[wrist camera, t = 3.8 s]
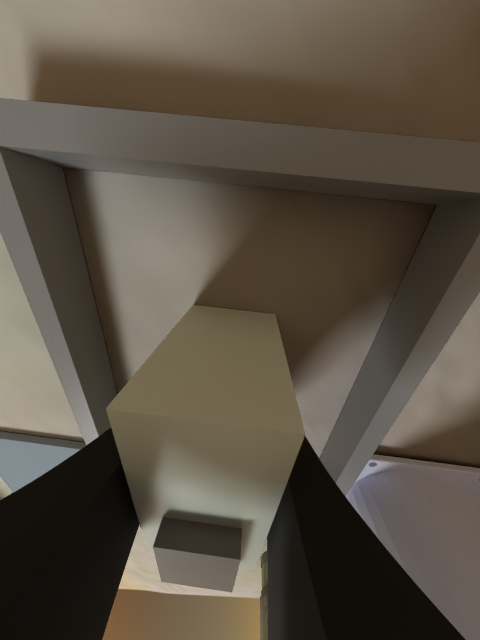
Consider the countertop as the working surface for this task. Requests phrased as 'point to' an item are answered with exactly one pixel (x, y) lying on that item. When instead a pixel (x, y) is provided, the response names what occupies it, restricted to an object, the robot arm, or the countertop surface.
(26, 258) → the gray rectangular frame
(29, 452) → the rubber mat
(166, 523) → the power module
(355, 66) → the countertop surface
